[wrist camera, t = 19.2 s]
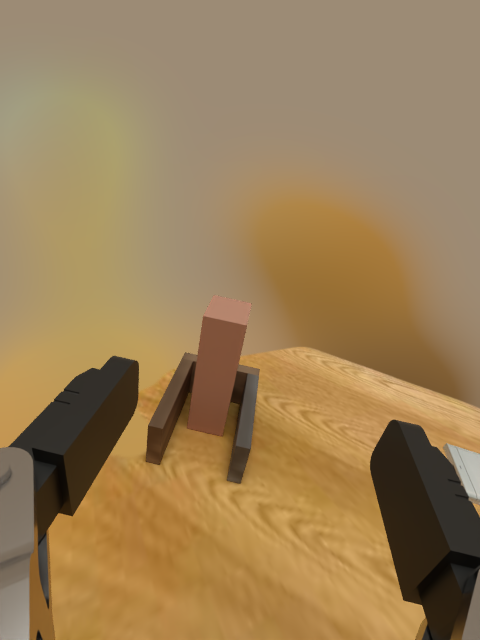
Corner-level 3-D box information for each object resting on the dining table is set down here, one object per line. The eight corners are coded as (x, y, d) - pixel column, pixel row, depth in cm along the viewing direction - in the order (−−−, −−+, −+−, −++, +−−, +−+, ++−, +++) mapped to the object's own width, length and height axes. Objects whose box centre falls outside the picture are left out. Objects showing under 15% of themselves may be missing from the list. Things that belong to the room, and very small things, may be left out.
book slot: (251, 399, 46) (259, 369, 43) (240, 483, 34) (250, 449, 31) (181, 383, 46) (185, 352, 44) (145, 461, 34) (148, 425, 32)
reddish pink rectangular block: (229, 405, 44) (251, 303, 37) (222, 436, 39) (247, 325, 32) (197, 398, 44) (213, 294, 37) (187, 428, 39) (203, 315, 32)
